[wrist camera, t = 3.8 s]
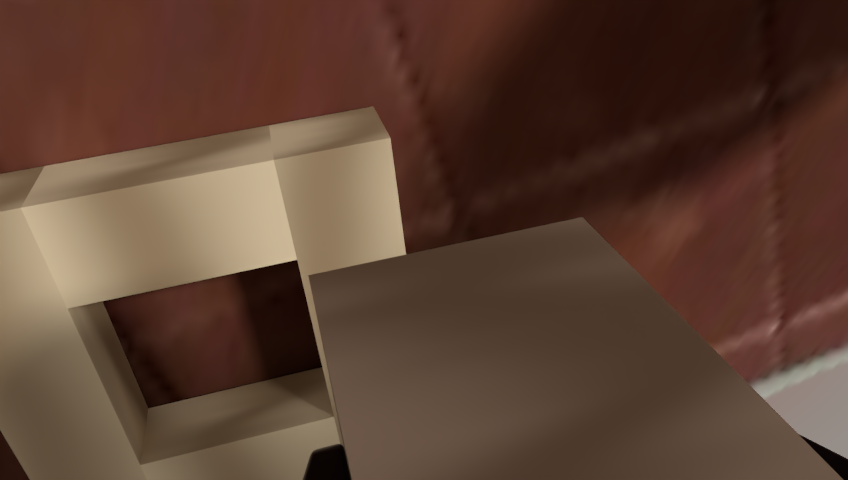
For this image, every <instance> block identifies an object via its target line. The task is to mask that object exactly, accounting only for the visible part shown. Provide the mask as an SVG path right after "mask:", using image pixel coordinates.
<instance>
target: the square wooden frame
mask: <svg viewBox="0 0 848 480" xmlns="http://www.w3.org/2000/svg"><path fill="white" fill-rule="evenodd" d="M401 255H406V250H405V243H404V235H403V228H402V221H401V213H400V206H399V198H398V191H397V183H396V176H395V169H394V161H393V154H392V146H391V139H390V136H389V135H388V133H387V131H386V129H385V127H384V125H383V124H382V122H381V120H380V118H379V116H378V114H377V112H376V111H375V109H374V107H368V108H363V109H357V110H352V111H346V112H341V113H335V114H329V115H324V116H318V117H313V118H307V119H302V120H296V121H291V122H285V123H280V124H274V125H269V126H263V127H258V128H252V129H247V130H241V131H236V132H230V133H225V134H219V135H214V136H208V137H203V138H197V139H192V140H186V141H181V142H175V143H169V144H164V145H158V146H153V147H147V148H142V149H136V150H131V151H125V152H120V153H114V154H109V155H103V156H98V157H92V158H87V159H81V160H76V161H70V162H65V163H59V164H54V165H48V166H43V167H37V168H32V169H26V170H20V171H15V172H9V173H4V174H0V431H1V432H2V434H3V436H4V437H5V439H6V441H7V442H8V444H9V446H10V447H11V449H12V451H13V452H14V454H15V456H16V457H17V459H18V461H19V462H20V464H21V466H22V467H23V469H24V471H25V472H26V474H27V476H28V477H29V479H30V480H303V477H304V474H305V470H306V467H307V464H308V461H309V457H310V455H311V453H312V452H313V451H314V450H316V449H320V448H323V447H327V446H331V445H335V444H341V445H342V446H343V447H344V445H343V440H342V435H341V430H340V426H339V421H338V416H337V411H336V406H335V402H334V397H333V392H332V387H331V382H330V378H329V373H328V368H327V363H326V358H325V353H324V349H323V344H322V339H321V334H320V329H319V325H318V320H317V315H316V310H315V305H314V301H313V296H312V291H311V286H310V281H309V276H308V275H312V274H317V273H321V272H326V271H331V270H335V269H340V268H345V267H350V266H354V265H359V264H364V263H368V262H373V261H378V260H383V259H387V258H392V257H397V256H401ZM294 260H297V261H298V266H299V270H300V274H301V278H302V283H303V287H304V291H305V295H306V300H307V304H308V308H309V312H310V317H311V321H312V325H313V329H314V334H315V338H316V342H317V347H318V351H319V355H320V359H321V364H322V367H320V368H316V369H312V370H308V371H303V372H299V373H295V374H291V375H287V376H282V377H278V378H274V379H270V380H266V381H261V382H257V383H253V384H249V385H245V386H240V387H236V388H232V389H228V390H224V391H219V392H215V393H211V394H207V395H203V396H198V397H194V398H190V399H186V400H182V401H177V402H173V403H169V404H165V405H161V406H156V407H152V408H148V406H147V404H146V402H145V399H144V397H143V395H142V392H141V390H140V388H139V385H138V383H137V381H136V378H135V376H134V374H133V371H132V369H131V367H130V364H129V362H128V360H127V357H126V355H125V353H124V350H123V348H122V346H121V343H120V341H119V339H118V336H117V334H116V332H115V329H114V327H113V325H112V322H111V320H110V318H109V315H108V313H107V311H106V308H105V306H104V304H103V301H106V300H111V299H115V298H120V297H125V296H130V295H134V294H139V293H144V292H148V291H153V290H158V289H162V288H167V287H172V286H177V285H181V284H186V283H191V282H195V281H200V280H205V279H209V278H214V277H219V276H224V275H228V274H233V273H238V272H242V271H247V270H252V269H256V268H261V267H266V266H271V265H275V264H280V263H285V262H289V261H294Z"/></svg>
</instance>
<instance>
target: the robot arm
mask: <svg viewBox="0 0 848 480" xmlns="http://www.w3.org/2000/svg"><path fill="white" fill-rule="evenodd" d="M800 436H801V435H800ZM801 437H802V438H803V439H804V440H805V441H806V442H807V443H808V444H809V445H810V446H811V447H812V448H813V449H814V451H815V452H816V453H817V454H818V455H819V456H820V457H821V458H822V459H823V460H824V461H825V462H826V463H827V464H828V465H829V466H830V467H831V468H832V469H833V470H834V471H835V472H836V473H837V474H838V475H839V476H840V477H841V478H842V479H843V480H848V459H846V458H844V457H842V456H840V455H839V454H837V453H835V452H832V451H831V450H829V449H827V448H825V447H823V446H821V445H819V444H817V443H815V442H813V441H811V440H809V439H807V438H805V437H803V436H801ZM303 480H351V478H350V473H349V468H348V464H347V459H346V454H345V450H344V447H343V446H342V445H341V444H335V445H331V446H327V447H323V448H320V449H316V450H314V451H313V452H312V453H311V455H310V457H309V461H308V464H307V467H306V470H305V474H304V477H303Z"/></svg>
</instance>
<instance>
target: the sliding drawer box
mask: <svg viewBox="0 0 848 480" xmlns="http://www.w3.org/2000/svg"><path fill="white" fill-rule="evenodd" d="M308 276H309V281H310V286H311V291H312V296H313V301H314V305H315V310H316V315H317V320H318V325H319V329H320V334H321V339H322V344H323V349H324V353H325V358H326V363H327V368H328V373H329V378H330V382H331V387H332V392H333V397H334V402H335V406H336V411H337V416H338V421H339V426H340V430H341V435H342V440H343V445H344V450H345V454H346V459H347V464H348V468H349V473H350V478H351V480H843V479H842V478H841V477H840V476H839V475H838V474H837V473H836V472H835V471H834V470H833V469H832V468H831V467H830V466H829V465H828V464H827V463H826V462H825V461H824V460H823V459H822V458H821V457H820V456H819V455H818V454H817V453H816V452H815V451H814V449H813V448H812V447H811V446H810V445H809V444H808V443H807V442H806V441H805V440H804V439H803V438H802V437H801V436H800V435H799V434H798V433H796V431H795V430H794V429H793V428H792V427H791V426H790V425H789V424H788V423H787V422H786V421H785V420H784V419H783V418H782V417H781V416H780V415H779V414H778V413H777V412H776V411H775V410H774V409H773V408H772V407H771V406H770V405H769V404H768V403H767V402H766V401H765V400H764V399H763V398H762V397H761V396H760V395H759V394H758V393H757V392H756V391H755V390H754V389H753V388H752V387H751V386H750V385H749V384H748V383H747V382H746V381H745V380H744V379H743V378H742V377H741V376H740V375H739V374H738V373H737V372H736V371H735V370H734V369H733V368H732V367H731V366H730V365H729V364H728V363H727V362H726V361H725V360H724V359H723V358H722V357H721V356H720V355H719V354H718V353H717V352H716V351H715V350H714V349H713V348H712V347H711V346H710V345H709V344H708V343H707V342H706V341H705V340H704V339H703V338H702V337H701V336H700V335H699V334H698V333H697V332H696V331H695V330H694V329H693V328H692V327H691V326H690V325H689V324H688V323H687V322H686V321H685V320H684V319H683V318H682V317H681V316H680V315H679V314H678V313H677V312H676V311H675V310H674V309H673V308H672V307H671V306H670V305H669V304H668V303H667V302H666V301H665V300H664V299H663V298H662V297H661V296H660V295H659V294H658V293H657V292H656V291H655V290H654V289H653V288H652V287H651V286H650V285H649V284H648V283H647V282H646V281H645V280H644V279H643V278H642V277H641V276H640V275H639V274H638V273H637V272H636V271H635V270H634V269H633V268H632V267H631V265H630V264H629V263H628V262H627V261H626V260H625V259H624V258H623V257H622V256H621V255H620V254H619V253H618V252H617V251H616V250H615V249H614V248H613V247H612V246H611V245H610V244H609V243H608V242H607V241H606V240H605V239H604V238H603V237H602V236H601V235H600V234H599V233H598V232H597V231H596V230H595V229H594V228H593V227H592V226H591V225H590V224H589V223H588V222H587V221H586V220H585V219H584V218H583V217H580V218H575V219H571V220H566V221H561V222H557V223H552V224H547V225H543V226H538V227H533V228H528V229H524V230H519V231H514V232H510V233H505V234H500V235H495V236H491V237H486V238H481V239H477V240H472V241H467V242H463V243H458V244H453V245H448V246H444V247H439V248H434V249H430V250H425V251H420V252H415V253H411V254H406V255H401V256H397V257H392V258H387V259H383V260H378V261H373V262H368V263H364V264H359V265H354V266H350V267H345V268H340V269H335V270H331V271H326V272H321V273H317V274H312V275H308Z"/></svg>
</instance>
